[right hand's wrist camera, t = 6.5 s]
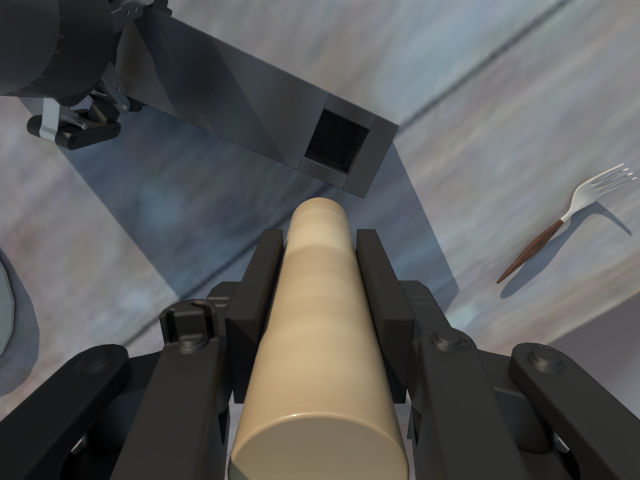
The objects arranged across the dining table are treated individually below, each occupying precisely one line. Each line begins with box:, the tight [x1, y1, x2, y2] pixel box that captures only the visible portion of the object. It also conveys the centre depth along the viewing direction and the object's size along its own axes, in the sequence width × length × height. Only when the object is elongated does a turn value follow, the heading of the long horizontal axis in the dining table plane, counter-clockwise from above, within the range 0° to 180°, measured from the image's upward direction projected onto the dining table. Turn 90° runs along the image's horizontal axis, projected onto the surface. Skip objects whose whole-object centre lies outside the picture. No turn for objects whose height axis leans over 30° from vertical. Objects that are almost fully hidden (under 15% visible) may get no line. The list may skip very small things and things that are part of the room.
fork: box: [496, 164, 637, 284], centre depth 35 cm, size 3×16×2 cm, turn 143°
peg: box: [228, 198, 409, 480], centre depth 12 cm, size 3×3×14 cm
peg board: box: [114, 6, 399, 198], centre depth 29 cm, size 24×6×6 cm, turn 66°
